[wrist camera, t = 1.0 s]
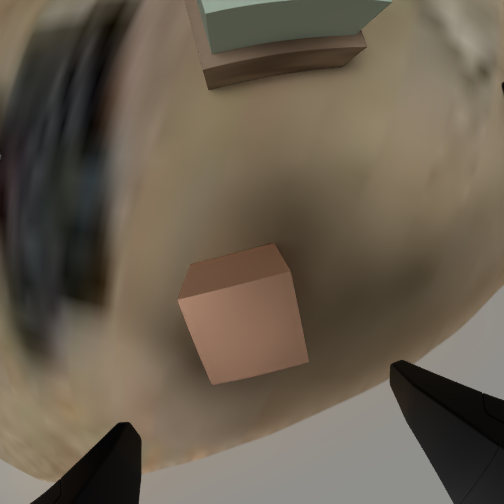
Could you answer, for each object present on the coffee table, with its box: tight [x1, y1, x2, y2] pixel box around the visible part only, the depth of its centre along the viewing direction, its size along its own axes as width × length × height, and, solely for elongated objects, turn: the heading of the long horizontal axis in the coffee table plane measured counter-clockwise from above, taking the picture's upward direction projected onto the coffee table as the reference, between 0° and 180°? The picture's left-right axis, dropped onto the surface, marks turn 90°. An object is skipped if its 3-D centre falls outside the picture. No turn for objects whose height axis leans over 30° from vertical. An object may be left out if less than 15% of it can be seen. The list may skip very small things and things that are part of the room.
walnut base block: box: [185, 0, 367, 90], centre depth 12 cm, size 8×8×4 cm
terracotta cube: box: [177, 243, 309, 385], centre depth 16 cm, size 5×5×5 cm
